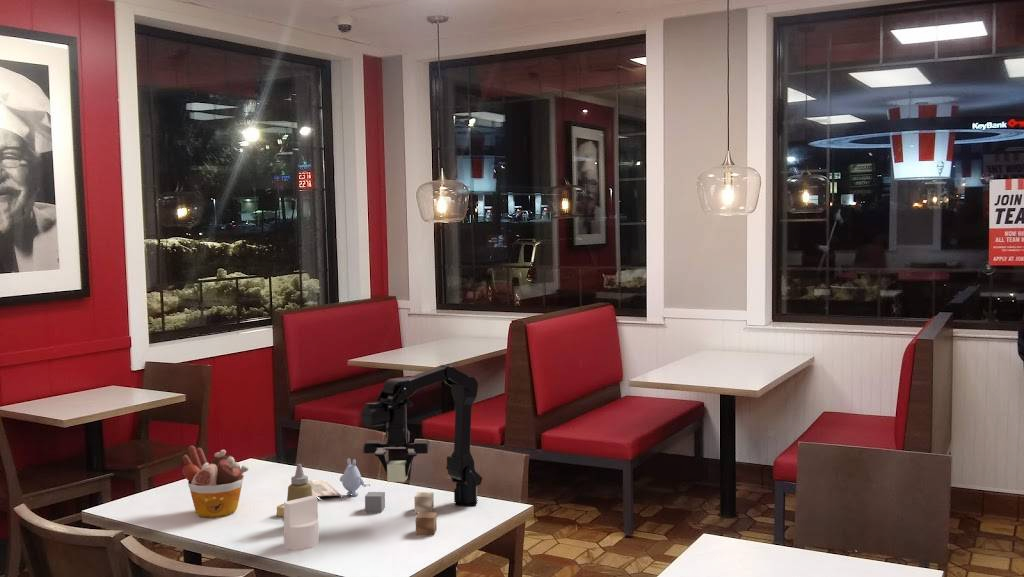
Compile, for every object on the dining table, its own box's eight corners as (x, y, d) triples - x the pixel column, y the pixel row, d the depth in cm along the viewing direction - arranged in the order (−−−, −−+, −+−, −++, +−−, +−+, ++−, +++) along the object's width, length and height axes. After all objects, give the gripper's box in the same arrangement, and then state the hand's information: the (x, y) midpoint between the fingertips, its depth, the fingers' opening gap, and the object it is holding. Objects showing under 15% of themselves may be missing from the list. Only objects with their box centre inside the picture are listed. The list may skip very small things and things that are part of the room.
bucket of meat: (259, 508, 273) (258, 444, 272) (222, 524, 258) (220, 455, 257) (209, 502, 281) (207, 439, 281) (169, 516, 266) (167, 450, 265)
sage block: (407, 477, 262) (407, 460, 262) (404, 481, 257) (404, 464, 257) (390, 477, 262) (390, 460, 262) (387, 481, 257) (387, 464, 257)
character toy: (293, 510, 260) (271, 507, 263) (293, 521, 260) (271, 518, 263) (309, 502, 268) (287, 500, 271) (309, 513, 268) (288, 510, 271)
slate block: (385, 508, 273) (384, 491, 273) (381, 512, 268) (381, 496, 268) (368, 508, 273) (368, 491, 273) (365, 512, 268) (364, 496, 268)
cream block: (433, 508, 272) (433, 492, 272) (431, 513, 267) (430, 496, 267) (417, 508, 272) (417, 492, 272) (414, 513, 267) (414, 496, 267)
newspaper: (290, 488, 300) (291, 480, 300) (326, 487, 305) (327, 480, 305) (304, 504, 279) (305, 496, 279) (342, 503, 284) (343, 495, 284)
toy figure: (371, 495, 287) (370, 458, 286) (357, 500, 282) (356, 462, 281) (347, 490, 293) (346, 454, 292) (333, 495, 288) (332, 458, 287)
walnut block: (436, 530, 251) (436, 512, 251) (433, 535, 246) (433, 517, 246) (418, 529, 251) (418, 512, 251) (415, 535, 246) (415, 517, 246)
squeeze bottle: (320, 524, 257) (319, 462, 257) (305, 532, 250) (303, 468, 249) (296, 521, 260) (294, 460, 259) (280, 529, 252) (278, 466, 252)
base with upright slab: (307, 536, 246) (306, 493, 246) (325, 544, 240) (324, 499, 239) (277, 544, 240) (276, 500, 239) (295, 552, 233) (294, 506, 233)
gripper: (432, 417, 266) (433, 469, 267) (371, 417, 268) (372, 469, 268) (426, 424, 255) (427, 479, 256) (362, 424, 257) (363, 478, 257)
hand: (397, 476), depth 260 cm, fingers closed on sage block, 5 cm apart
